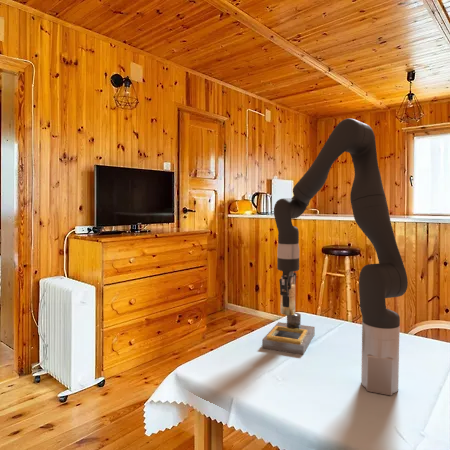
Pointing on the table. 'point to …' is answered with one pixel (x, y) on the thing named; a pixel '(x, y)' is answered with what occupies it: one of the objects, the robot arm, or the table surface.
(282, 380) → the table surface
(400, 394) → the table surface
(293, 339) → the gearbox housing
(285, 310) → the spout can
